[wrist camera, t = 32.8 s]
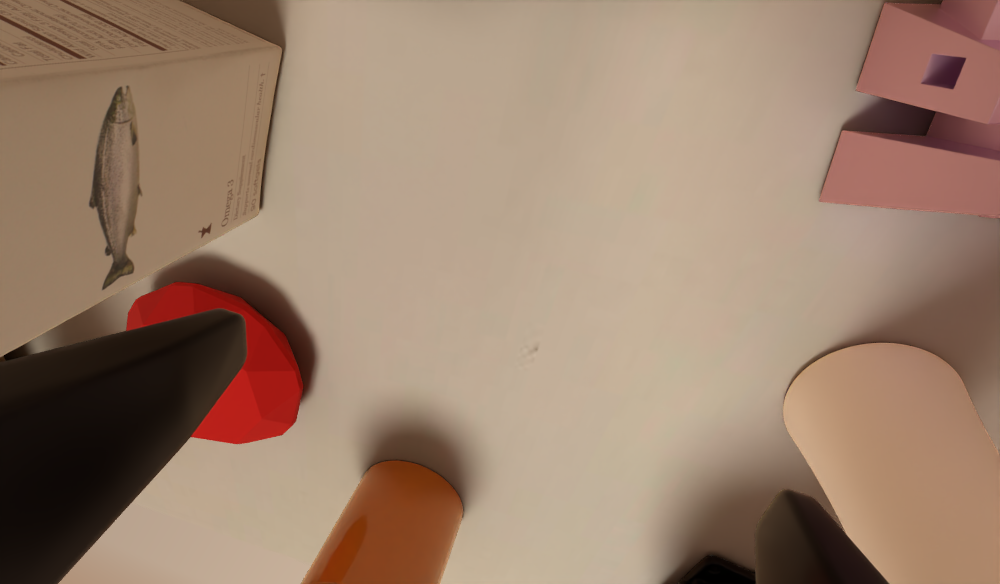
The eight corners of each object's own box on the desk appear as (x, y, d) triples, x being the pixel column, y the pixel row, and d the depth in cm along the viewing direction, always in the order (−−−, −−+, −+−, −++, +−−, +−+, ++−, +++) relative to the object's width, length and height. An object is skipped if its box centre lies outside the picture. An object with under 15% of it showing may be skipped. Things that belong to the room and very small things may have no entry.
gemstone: (154, 376, 30) (109, 412, 27) (155, 242, 25) (99, 270, 22) (301, 442, 29) (269, 485, 27) (329, 320, 25) (293, 357, 22)
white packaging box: (264, 219, 23) (-71, 414, 12) (108, 144, 23) (-365, 273, 12) (292, 45, 19) (-162, 104, 8) (105, -44, 19) (-592, -101, 8)
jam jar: (474, 485, 28) (415, 659, 21) (450, 550, 31) (391, 721, 24) (369, 444, 28) (274, 601, 21) (355, 512, 31) (268, 669, 24)
